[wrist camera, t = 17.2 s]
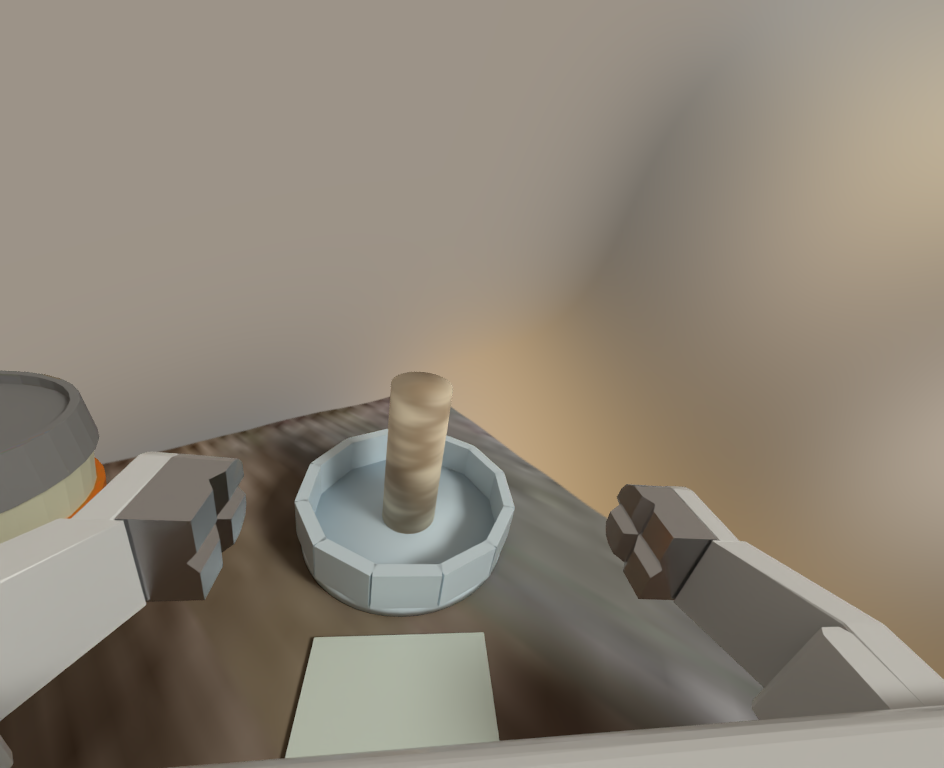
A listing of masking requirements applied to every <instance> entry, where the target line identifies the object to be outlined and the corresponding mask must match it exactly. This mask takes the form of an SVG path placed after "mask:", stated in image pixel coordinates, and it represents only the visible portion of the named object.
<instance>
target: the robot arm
mask: <svg viewBox="0 0 944 768" xmlns="http://www.w3.org/2000/svg"><path fill="white" fill-rule="evenodd" d="M243 477H244V473H243V465H242V462H241V461H240V460H239V459H236V458H224V457H213V456H201V455H190V454H174V453H161V452H146V453H143V454H140V455H139V456H137V457H136V458H135V459H134V460H133V461H132V462H131V463H130V464H129V465H128V466H127V467H126V468H124V469H123V470H122V471H121V472H120V473H119V474H118V475H117V476H116V477H115V478H114V479H113V480H112V481H110V482H109V483H108V484H107V485H106V486H105V487H104V488H103V489H102V490H101V491H100V492H99V493H98V494H97V495H95V496H94V497H93V498H92V499H91V500H90V501H89V502H88V503H87V504H86V505H85V506H84V507H83V508H81V509H80V510H79V511H78V512H77V513H76V514H75V515H74V516H73V517H72V518H71V519H62V518H59V519H56V520H54V521H52V522H49V523H47V524H45V525H42V526H40V527H38V528H35V529H33V530H31V531H29V532H26V533H24V534H22V535H19V536H17V537H15V538H12V539H10V540H8V541H6V542H3V543H1V544H0V721H1V720H2V719H3V718H5V717H6V716H7V715H8V714H10V713H11V712H12V711H13V710H15V709H16V708H17V707H18V706H20V705H21V704H22V703H23V702H25V701H26V700H27V699H28V698H30V697H31V696H32V695H33V694H35V693H36V692H37V691H38V690H40V689H41V688H42V687H44V686H45V685H46V684H47V683H49V682H50V681H51V680H52V679H54V678H55V677H56V676H57V675H59V674H60V673H61V672H62V671H64V670H65V669H66V668H67V667H69V666H70V665H71V664H72V663H74V662H75V661H76V660H77V659H79V658H80V657H81V656H83V655H84V654H85V653H86V652H88V651H89V650H90V649H91V648H93V647H94V646H95V645H96V644H98V643H99V642H100V641H101V640H103V639H104V638H105V637H106V636H108V635H109V634H110V633H111V632H113V631H114V630H115V629H116V628H118V627H119V626H120V625H122V624H123V623H124V622H125V621H127V620H128V619H129V618H130V617H132V616H133V615H134V614H135V613H137V612H138V611H139V610H140V609H142V608H143V607H144V606H145V605H146V602H153V601H188V600H205V598H206V596H207V594H208V593H209V591H210V589H211V587H212V585H213V583H214V581H215V579H216V577H217V576H218V574H219V572H220V570H221V568H222V566H223V562H222V552H223V551H225V550H226V549H228V548H229V547H231V546H232V545H234V543H235V541H236V539H237V537H238V535H239V533H240V531H241V527H242V524H243V521H244V517H245V510H246V495H245V493H244V492H243V491H242V490H241V489H240V488H239V487H238V485H239V483H240V482H241V480H242V478H243ZM617 499H618V502H619V506H617V507H616V508H615V509H613V510H612V511H611V512H610V514H609V516H608V519H607V521H606V537H607V540H608V544H609V546H610V548H611V550H612V552H613V554H615V555H616V556H617V557H618V558H620V559H621V560H622V561H623V562H624V568H623V572H624V574H625V575H626V577H627V579H628V581H629V583H630V584H631V586H632V588H633V590H634V592H635V593H636V595H637V597H638V599H658V600H674V603H675V604H676V605H677V606H678V607H679V608H680V609H681V610H682V611H683V612H684V613H686V614H687V615H688V616H689V617H690V618H691V619H692V620H693V621H694V622H695V623H696V624H697V625H698V626H699V627H700V628H701V629H702V630H704V631H705V632H706V633H707V634H708V635H709V636H710V637H711V638H712V639H713V640H714V641H715V642H716V643H717V644H718V645H719V646H720V647H722V648H723V649H724V650H725V651H726V652H727V653H728V654H729V655H730V656H731V657H732V658H733V659H734V660H735V661H736V662H737V663H738V664H740V665H741V666H742V667H743V668H744V669H745V670H746V671H747V672H748V673H749V674H750V675H751V676H752V677H753V678H754V679H755V680H756V681H758V682H759V683H760V684H761V685H762V686H763V687H764V689H763V690H762V691H761V692H760V693H759V694H758V695H757V696H756V697H755V699H754V700H753V702H752V710H753V711H754V713H755V714H756V716H757V717H758V719H759V720H752V721H740V722H728V723H715V724H703V725H690V726H678V727H665V728H653V729H641V730H628V731H616V732H603V733H591V734H578V735H566V736H554V737H541V738H529V739H516V740H504V741H491V742H479V743H467V744H454V745H442V746H429V747H417V748H404V749H392V750H380V751H367V752H355V753H343V754H330V755H318V756H306V757H293V758H281V759H269V760H256V761H244V762H232V763H219V764H207V765H195V766H182V767H170V768H944V680H943V679H942V678H941V677H940V676H939V675H938V674H937V673H936V672H935V671H934V670H932V668H930V667H929V666H928V665H927V664H926V663H925V662H924V661H923V660H922V659H921V658H920V657H918V656H917V655H916V654H915V653H914V652H913V651H912V650H911V649H910V648H909V647H908V646H907V645H906V644H904V643H903V642H902V641H901V640H900V639H899V638H898V637H897V636H896V635H895V634H894V633H893V632H891V631H890V630H889V629H888V628H887V627H886V626H885V625H884V624H882V623H881V622H879V621H877V620H875V619H874V618H872V617H871V616H869V615H867V614H866V613H864V612H862V611H861V610H859V609H857V608H855V607H854V606H852V605H850V604H849V603H847V602H846V601H844V600H842V599H841V598H839V597H837V596H835V595H834V594H832V593H831V592H829V591H827V590H825V589H824V588H822V587H820V586H819V585H817V584H815V583H814V582H812V581H811V580H809V579H807V578H806V577H804V576H802V575H800V574H799V573H797V572H795V571H794V570H792V569H790V568H789V567H787V566H785V565H784V564H782V563H780V562H779V561H777V560H775V559H774V558H772V557H770V556H769V555H767V554H765V553H764V552H762V551H760V550H758V549H757V548H755V547H754V546H752V545H750V544H749V543H747V542H742V541H739V540H738V539H737V538H736V537H735V536H734V535H733V534H732V533H731V532H730V531H729V529H728V528H727V527H726V526H725V525H724V524H723V523H722V522H721V521H720V520H719V519H718V518H717V517H716V516H715V515H714V513H713V512H712V511H711V510H710V509H709V508H708V507H707V506H706V505H705V504H704V503H703V502H702V501H701V500H700V499H699V497H698V496H697V495H696V494H695V493H694V492H693V491H692V490H690V489H688V488H686V487H675V486H665V487H662V486H646V485H628V484H627V485H625V486H624V487H623V488H622V489H621V491H620V492H619V494H618V496H617ZM12 765H13V756H12V751H11V750H10V748H9V747H8V745H7V744H6V743H5V741H4V740H3V738H2V737H1V735H0V768H11V766H12Z"/></svg>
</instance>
